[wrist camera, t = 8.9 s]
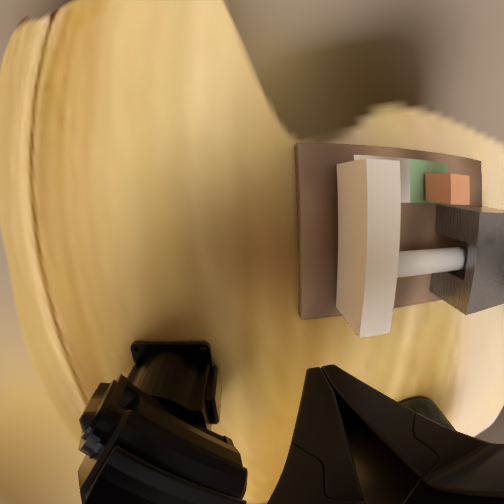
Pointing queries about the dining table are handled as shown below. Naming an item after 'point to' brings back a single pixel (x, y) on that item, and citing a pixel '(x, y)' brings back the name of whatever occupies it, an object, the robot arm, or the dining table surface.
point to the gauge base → (326, 217)
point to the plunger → (377, 245)
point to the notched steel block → (472, 258)
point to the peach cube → (447, 188)
